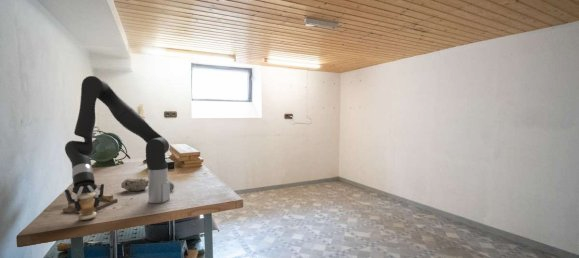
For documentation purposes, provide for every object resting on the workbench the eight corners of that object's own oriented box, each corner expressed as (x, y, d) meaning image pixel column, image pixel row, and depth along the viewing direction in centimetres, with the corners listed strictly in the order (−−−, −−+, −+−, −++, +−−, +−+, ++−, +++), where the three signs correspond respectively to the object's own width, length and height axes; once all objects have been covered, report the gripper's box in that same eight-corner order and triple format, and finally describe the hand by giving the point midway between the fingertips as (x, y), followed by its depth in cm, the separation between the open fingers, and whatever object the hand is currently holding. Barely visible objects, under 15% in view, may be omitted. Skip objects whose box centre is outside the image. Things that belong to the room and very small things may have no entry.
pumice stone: (121, 194, 144) (120, 179, 144) (121, 193, 153) (120, 179, 154) (149, 189, 151) (148, 176, 152) (148, 188, 161) (147, 176, 162)
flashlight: (158, 186, 161) (158, 178, 161) (168, 185, 165) (167, 177, 165) (164, 192, 149) (164, 183, 149) (174, 191, 153) (174, 182, 153)
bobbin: (100, 214, 113) (99, 192, 113) (87, 220, 107) (86, 196, 106) (87, 213, 114) (86, 191, 113) (74, 219, 108) (73, 196, 107)
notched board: (117, 201, 133) (117, 194, 132) (90, 213, 117) (90, 204, 116) (92, 200, 134) (92, 193, 134) (62, 211, 118) (62, 203, 118)
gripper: (62, 173, 110) (65, 208, 102) (103, 168, 120) (109, 200, 112) (62, 183, 114) (65, 217, 106) (101, 178, 124) (107, 208, 116)
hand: (87, 208), depth 109 cm, fingers closed on bobbin, 5 cm apart
